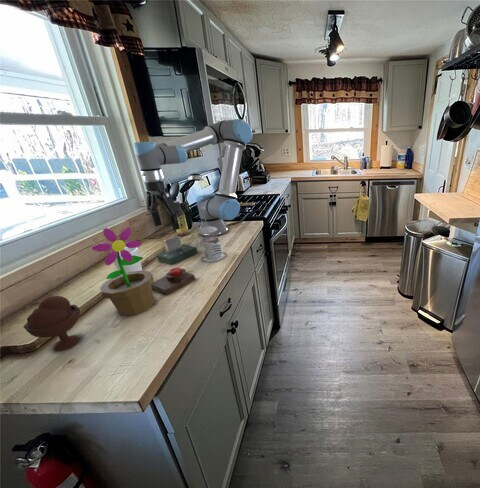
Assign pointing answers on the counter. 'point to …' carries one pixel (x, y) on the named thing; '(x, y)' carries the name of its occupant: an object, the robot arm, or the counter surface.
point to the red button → (175, 271)
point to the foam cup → (132, 267)
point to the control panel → (177, 254)
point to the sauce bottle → (181, 221)
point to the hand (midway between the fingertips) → (167, 227)
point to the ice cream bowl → (54, 321)
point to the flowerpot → (125, 276)
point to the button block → (172, 282)
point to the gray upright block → (172, 244)
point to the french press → (216, 247)
